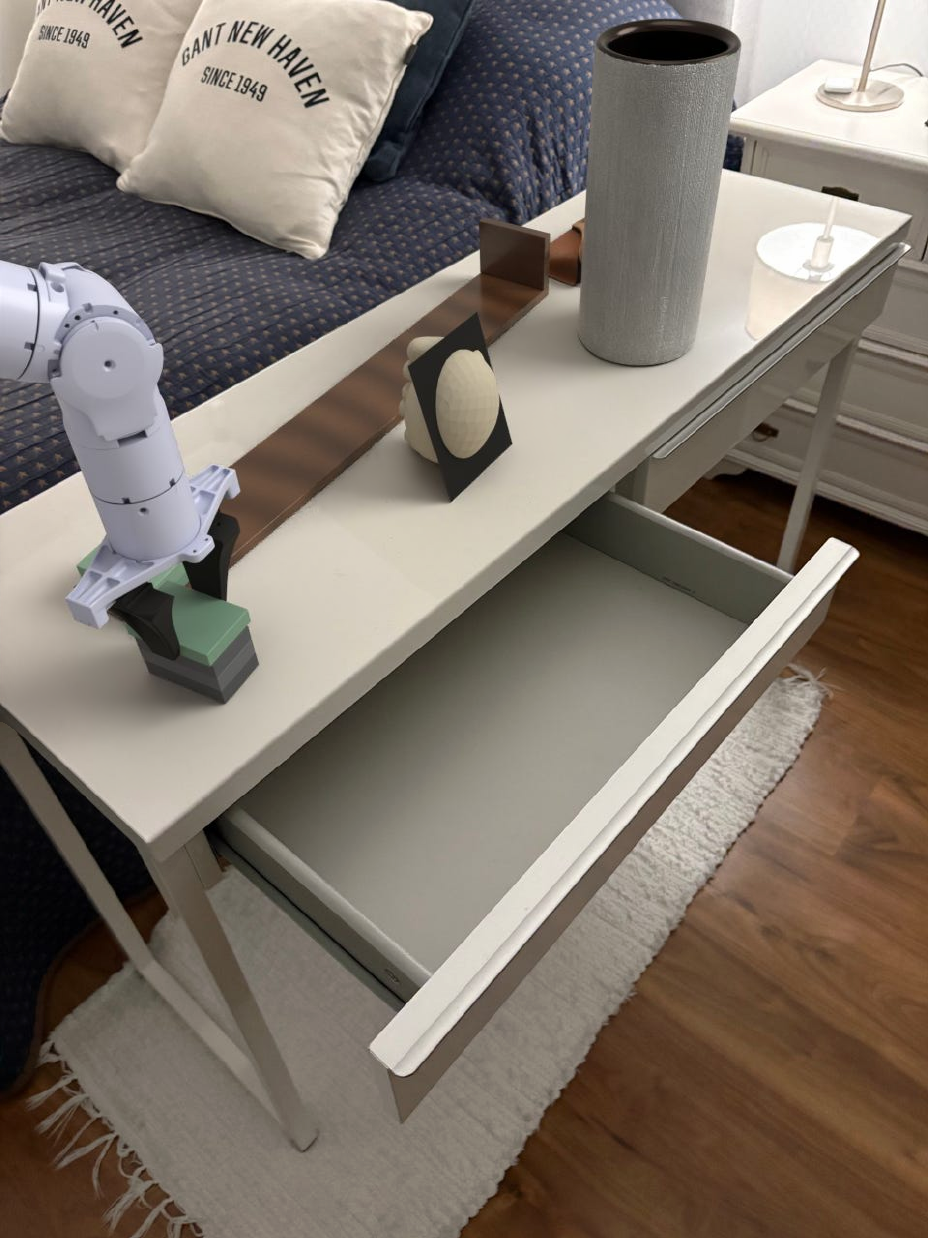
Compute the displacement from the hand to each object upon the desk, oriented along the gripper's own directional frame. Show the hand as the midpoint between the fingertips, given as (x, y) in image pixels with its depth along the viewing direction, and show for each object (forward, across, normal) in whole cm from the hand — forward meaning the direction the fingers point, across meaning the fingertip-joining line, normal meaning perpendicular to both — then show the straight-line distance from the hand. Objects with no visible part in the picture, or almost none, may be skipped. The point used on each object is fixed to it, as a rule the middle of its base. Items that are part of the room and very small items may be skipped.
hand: (189, 627), depth 68 cm
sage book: (0, 0, 0) cm, 0 cm away
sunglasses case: (+4, +74, -2) cm, 74 cm away
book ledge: (+4, +32, +6) cm, 33 cm away
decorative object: (+5, +30, -5) cm, 31 cm away
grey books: (+4, 0, 0) cm, 4 cm away
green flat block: (+3, +5, +10) cm, 11 cm away
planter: (+4, +57, -13) cm, 59 cm away
